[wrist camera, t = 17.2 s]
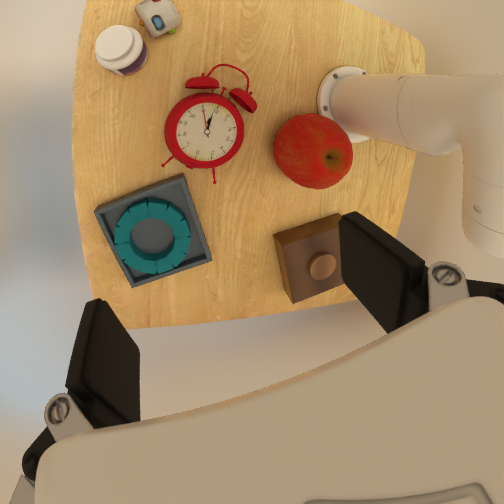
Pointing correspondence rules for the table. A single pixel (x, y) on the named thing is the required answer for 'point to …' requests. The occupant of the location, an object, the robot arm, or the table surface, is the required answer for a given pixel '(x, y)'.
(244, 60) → the table surface
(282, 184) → the table surface
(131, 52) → the pill bottle
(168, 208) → the ring
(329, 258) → the platform
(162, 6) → the roller toy
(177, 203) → the tray
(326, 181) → the apple
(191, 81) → the alarm clock
